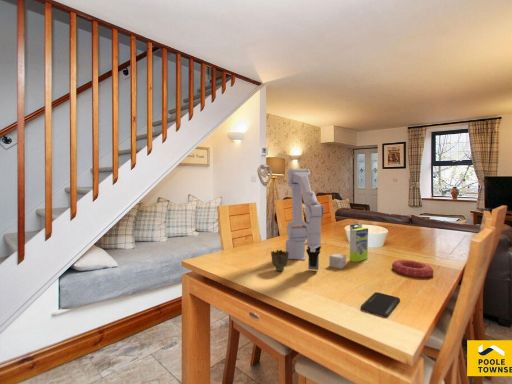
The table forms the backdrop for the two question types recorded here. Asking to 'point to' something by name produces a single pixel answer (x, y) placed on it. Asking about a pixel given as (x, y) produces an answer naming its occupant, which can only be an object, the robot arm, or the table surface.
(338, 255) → the small box
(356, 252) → the box
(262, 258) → the table surface
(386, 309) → the phone
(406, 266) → the torus
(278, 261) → the cup
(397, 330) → the table surface
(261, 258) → the table surface
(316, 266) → the charcoal block
